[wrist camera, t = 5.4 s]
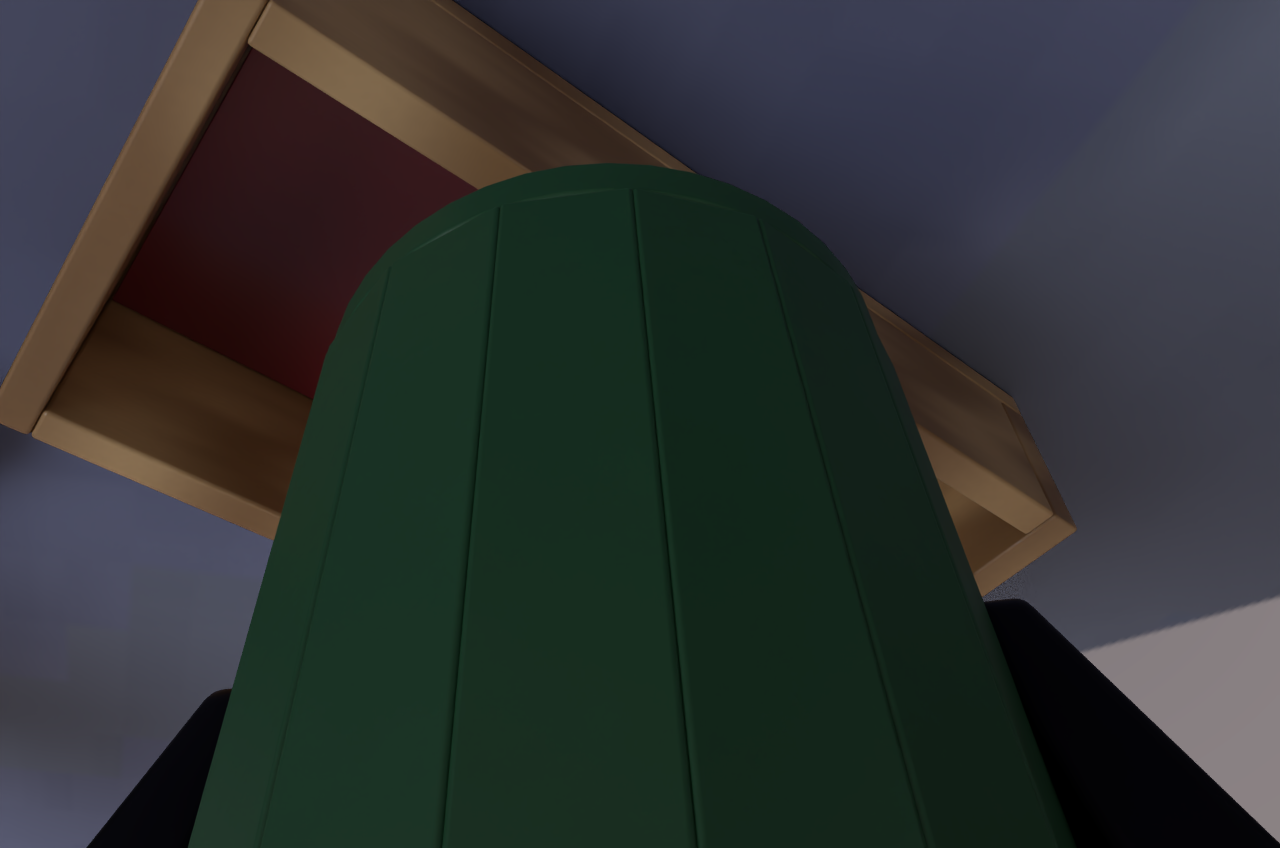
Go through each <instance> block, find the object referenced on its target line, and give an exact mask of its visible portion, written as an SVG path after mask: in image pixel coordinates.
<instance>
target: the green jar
mask: <svg viewBox="0 0 1280 848" xmlns="http://www.w3.org/2000/svg"><path fill="white" fill-rule="evenodd" d="M188 848H1077V846H1076V843H1075V840H1074V838H1073V835H1072V832H1071V830H1070V827H1069V825H1068V822H1067V819H1066V817H1065V814H1064V811H1063V809H1062V806H1061V804H1060V801H1059V798H1058V796H1057V793H1056V790H1055V788H1054V785H1053V783H1052V780H1051V777H1050V775H1049V772H1048V769H1047V767H1046V764H1045V762H1044V759H1043V756H1042V754H1041V751H1040V749H1039V746H1038V744H1037V742H1036V739H1035V737H1034V734H1033V731H1032V729H1031V726H1030V723H1029V721H1028V718H1027V716H1026V713H1025V710H1024V708H1023V705H1022V702H1021V699H1020V697H1019V694H1018V691H1017V689H1016V686H1015V683H1014V680H1013V678H1012V675H1011V672H1010V670H1009V667H1008V664H1007V662H1006V659H1005V657H1004V654H1003V651H1002V649H1001V646H1000V643H999V641H998V638H997V636H996V633H995V630H994V628H993V625H992V622H991V620H990V617H989V615H988V612H987V609H986V607H985V604H984V601H983V599H982V596H981V594H980V591H979V588H978V586H977V583H976V581H975V578H974V575H973V573H972V570H971V567H970V565H969V562H968V560H967V557H966V554H965V552H964V549H963V546H962V544H961V541H960V539H959V536H958V533H957V531H956V528H955V525H954V523H953V520H952V518H951V515H950V512H949V510H948V507H947V504H946V502H945V499H944V497H943V494H942V491H941V489H940V486H939V483H938V481H937V478H936V476H935V473H934V470H933V468H932V465H931V462H930V460H929V457H928V455H927V452H926V449H925V447H924V444H923V441H922V439H921V436H920V434H919V431H918V428H917V426H916V423H915V420H914V418H913V415H912V413H911V410H910V407H909V405H908V402H907V399H906V397H905V394H904V392H903V389H902V386H901V384H900V381H899V378H898V376H897V373H896V371H895V368H894V365H893V363H892V362H891V360H890V358H889V356H888V354H887V352H886V350H885V348H884V346H883V344H882V342H881V340H880V338H879V336H878V334H877V331H876V329H875V326H874V323H873V321H872V318H871V316H870V314H869V311H868V309H867V306H866V304H865V301H864V299H863V296H862V294H861V293H860V291H859V289H858V288H857V286H856V285H855V283H854V281H853V280H852V278H851V277H850V275H849V273H848V272H847V270H846V268H845V267H844V266H843V265H842V264H841V263H840V261H839V260H838V259H837V258H836V257H835V256H834V255H833V253H832V252H831V251H830V250H829V249H828V248H827V246H826V245H825V244H824V243H823V242H822V241H821V240H819V239H818V238H817V237H816V236H815V235H814V234H812V233H811V232H810V231H809V230H808V229H807V228H805V227H804V226H803V225H802V224H801V223H799V222H798V221H797V220H796V219H794V218H792V217H791V216H789V215H788V214H786V213H785V212H783V211H781V210H780V209H778V208H777V207H775V206H773V205H772V204H770V203H769V202H767V201H765V200H763V199H761V198H759V197H757V196H754V195H752V194H750V193H748V192H746V191H743V190H741V189H739V188H737V187H735V186H732V185H730V184H728V183H725V182H721V181H718V180H715V179H711V178H708V177H705V176H702V175H698V174H695V173H692V172H687V171H682V170H676V169H670V168H664V167H659V166H653V165H641V164H622V163H598V164H583V165H569V166H562V167H557V168H551V169H546V170H541V171H536V172H531V173H525V174H522V175H519V176H516V177H513V178H510V179H507V180H504V181H501V182H497V183H494V184H491V185H488V186H485V187H483V188H481V189H479V190H477V191H475V192H473V193H471V194H468V195H466V196H464V197H462V198H460V199H458V200H456V201H454V202H451V203H449V204H448V205H446V206H445V207H443V208H441V209H440V210H438V211H437V212H435V213H434V214H432V215H431V216H429V217H428V218H426V219H424V220H423V221H421V222H420V223H418V224H417V225H415V226H414V227H413V228H412V229H411V230H410V231H408V232H407V233H406V234H405V235H404V236H403V237H401V238H400V239H399V240H398V241H397V242H396V243H395V244H393V245H392V246H391V247H390V248H389V249H388V250H387V251H386V252H385V253H384V255H383V256H382V257H381V258H380V259H379V260H378V262H377V263H376V264H375V265H374V266H373V267H372V269H371V270H370V271H369V272H368V273H367V274H366V276H365V277H364V279H363V281H362V282H361V284H360V285H359V287H358V289H357V290H356V292H355V294H354V295H353V297H352V298H351V300H350V302H349V303H348V306H347V308H346V311H345V313H344V316H343V318H342V320H341V323H340V325H339V328H338V330H337V333H336V337H335V339H334V340H333V342H332V343H331V345H330V346H329V349H328V352H327V353H326V356H325V359H324V363H323V367H322V370H321V374H320V377H319V381H318V384H317V388H316V392H315V395H314V399H313V402H312V406H311V409H310V413H309V417H308V420H307V424H306V427H305V431H304V434H303V438H302V442H301V445H300V449H299V452H298V456H297V459H296V463H295V467H294V470H293V474H292V477H291V481H290V484H289V488H288V492H287V495H286V499H285V502H284V506H283V509H282V513H281V517H280V520H279V524H278V527H277V531H276V534H275V538H274V542H273V545H272V549H271V552H270V556H269V559H268V563H267V567H266V570H265V574H264V577H263V581H262V584H261V588H260V592H259V595H258V599H257V602H256V606H255V609H254V613H253V617H252V620H251V624H250V627H249V631H248V634H247V638H246V642H245V645H244V649H243V652H242V656H241V659H240V663H239V667H238V670H237V674H236V677H235V681H234V684H233V688H232V692H231V695H230V699H229V702H228V706H227V709H226V713H225V717H224V720H223V724H222V727H221V731H220V734H219V738H218V742H217V745H216V749H215V752H214V756H213V759H212V763H211V767H210V770H209V774H208V777H207V781H206V784H205V788H204V792H203V795H202V799H201V802H200V806H199V809H198V813H197V816H196V820H195V824H194V827H193V831H192V834H191V838H190V841H189V845H188Z"/></svg>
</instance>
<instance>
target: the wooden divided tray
mask: <svg viewBox="0 0 1280 848" xmlns="http://www.w3.org/2000/svg"><path fill="white" fill-rule="evenodd" d="M598 163H622V164H641V165H653V166H659V167H664V168H670V169H676V170H682V171H687V172H692V173H695V172H694V171H692V170H691V169H689V168H688V167H686V166H685V165H684V164H682V163H681V162H679V161H678V160H677V159H675V158H674V157H672V156H671V155H670V154H668V153H667V152H665V151H664V150H663V149H661V148H660V147H658V146H657V145H655V144H654V143H653V142H651V141H650V140H648V139H647V138H646V137H644V136H643V135H641V134H640V133H639V132H637V131H636V130H634V129H633V128H631V127H630V126H629V125H627V124H626V123H624V122H623V121H622V120H620V119H619V118H617V117H616V116H615V115H613V114H612V113H610V112H609V111H608V110H606V109H605V108H603V107H602V106H600V105H599V104H598V103H596V102H595V101H593V100H592V99H591V98H589V97H588V96H586V95H585V94H584V93H582V92H581V91H579V90H578V89H576V88H575V87H574V86H572V85H571V84H569V83H568V82H567V81H565V80H564V79H562V78H561V77H560V76H558V75H557V74H555V73H554V72H553V71H551V70H550V69H548V68H547V67H545V66H544V65H543V64H541V63H540V62H538V61H537V60H536V59H534V58H533V57H531V56H530V55H529V54H527V53H526V52H524V51H523V50H521V49H520V48H519V47H517V46H516V45H514V44H513V43H512V42H510V41H509V40H507V39H506V38H505V37H503V36H502V35H500V34H499V33H498V32H496V31H495V30H493V29H492V28H490V27H489V26H488V25H486V24H485V23H483V22H482V21H481V20H479V19H478V18H476V17H475V16H474V15H472V14H471V13H469V12H468V11H466V10H465V9H464V8H462V7H461V6H459V5H458V4H457V3H455V2H454V1H452V0H198V2H197V3H196V5H195V7H194V9H193V11H192V13H191V15H190V17H189V19H188V21H187V23H186V25H185V27H184V29H183V31H182V33H181V35H180V37H179V39H178V41H177V43H176V45H175V47H174V49H173V50H172V52H171V54H170V56H169V58H168V60H167V62H166V64H165V66H164V68H163V70H162V72H161V74H160V76H159V78H158V80H157V82H156V84H155V86H154V88H153V90H152V92H151V94H150V95H149V97H148V99H147V101H146V103H145V105H144V107H143V109H142V111H141V113H140V115H139V117H138V119H137V121H136V123H135V125H134V127H133V129H132V131H131V133H130V135H129V137H128V139H127V140H126V142H125V144H124V146H123V148H122V150H121V152H120V154H119V156H118V158H117V160H116V162H115V164H114V166H113V168H112V170H111V172H110V174H109V176H108V178H107V180H106V182H105V184H104V186H103V187H102V189H101V191H100V193H99V195H98V197H97V199H96V201H95V203H94V205H93V207H92V209H91V211H90V213H89V215H88V217H87V219H86V221H85V223H84V225H83V227H82V229H81V231H80V232H79V234H78V236H77V238H76V240H75V242H74V244H73V246H72V248H71V250H70V252H69V254H68V256H67V258H66V260H65V262H64V264H63V266H62V268H61V270H60V272H59V274H58V276H57V277H56V279H55V281H54V283H53V285H52V287H51V289H50V291H49V293H48V295H47V297H46V299H45V301H44V303H43V305H42V307H41V309H40V311H39V313H38V315H37V317H36V319H35V321H34V323H33V324H32V326H31V328H30V330H29V332H28V334H27V336H26V338H25V340H24V342H23V344H22V346H21V348H20V350H19V352H18V354H17V356H16V358H15V360H14V362H13V364H12V366H11V368H10V369H9V371H8V373H7V375H6V377H5V379H4V381H3V383H2V385H1V387H0V424H2V425H5V426H7V427H9V428H12V429H14V430H16V431H19V432H21V433H23V434H29V433H30V432H32V437H34V438H35V439H37V440H40V441H42V442H44V443H47V444H49V445H51V446H54V447H56V448H58V449H61V450H63V451H65V452H68V453H70V454H72V455H75V456H77V457H79V458H82V459H84V460H86V461H89V462H91V463H93V464H96V465H98V466H100V467H103V468H105V469H107V470H110V471H112V472H114V473H117V474H119V475H121V476H124V477H126V478H128V479H131V480H133V481H135V482H138V483H140V484H142V485H145V486H147V487H149V488H152V489H154V490H156V491H159V492H161V493H163V494H166V495H168V496H170V497H173V498H175V499H177V500H180V501H182V502H184V503H187V504H189V505H191V506H194V507H196V508H198V509H201V510H203V511H205V512H208V513H210V514H212V515H215V516H217V517H219V518H222V519H224V520H226V521H229V522H231V523H233V524H236V525H238V526H240V527H243V528H245V529H247V530H250V531H252V532H254V533H257V534H259V535H261V536H264V537H266V538H268V539H271V540H273V541H274V538H275V534H276V531H277V527H278V524H279V520H280V517H281V513H282V509H283V506H284V502H285V499H286V495H287V492H288V488H289V484H290V481H291V477H292V474H293V470H294V467H295V463H296V459H297V456H298V452H299V449H300V445H301V442H302V438H303V434H304V431H305V427H306V424H307V420H308V417H309V413H310V409H311V406H312V402H313V399H314V395H315V392H316V388H317V384H318V381H319V377H320V374H321V370H322V367H323V363H324V359H325V356H326V353H327V352H328V349H329V346H330V345H331V343H332V342H333V340H334V339H335V337H336V333H337V330H338V328H339V325H340V323H341V320H342V318H343V316H344V313H345V311H346V308H347V306H348V303H349V302H350V300H351V298H352V297H353V295H354V294H355V292H356V290H357V289H358V287H359V285H360V284H361V282H362V281H363V279H364V277H365V276H366V274H367V273H368V272H369V271H370V270H371V269H372V267H373V266H374V265H375V264H376V263H377V262H378V260H379V259H380V258H381V257H382V256H383V255H384V253H385V252H386V251H387V250H388V249H389V248H390V247H391V246H392V245H393V244H395V243H396V242H397V241H398V240H399V239H400V238H401V237H403V236H404V235H405V234H406V233H407V232H408V231H410V230H411V229H412V228H413V227H414V226H415V225H417V224H418V223H420V222H421V221H423V220H424V219H426V218H428V217H429V216H431V215H432V214H434V213H435V212H437V211H438V210H440V209H441V208H443V207H445V206H446V205H448V204H449V203H451V202H454V201H456V200H458V199H460V198H462V197H464V196H466V195H468V194H471V193H473V192H475V191H477V190H479V189H481V188H483V187H485V186H488V185H491V184H494V183H497V182H501V181H504V180H507V179H510V178H513V177H516V176H519V175H522V174H525V173H531V172H536V171H541V170H546V169H551V168H557V167H562V166H569V165H583V164H598ZM695 174H696V173H695ZM858 289H859V288H858ZM859 291H860V293H861V294H862V296H863V299H864V301H865V304H866V306H867V309H868V311H869V314H870V316H871V318H872V321H873V323H874V326H875V329H876V331H877V334H878V336H879V338H880V340H881V342H882V344H883V346H884V348H885V350H886V352H887V354H888V356H889V358H890V360H891V362H892V363H893V365H894V368H895V371H896V373H897V376H898V378H899V381H900V384H901V386H902V389H903V392H904V394H905V397H906V399H907V402H908V405H909V407H910V410H911V413H912V415H913V418H914V420H915V423H916V426H917V428H918V431H919V434H920V436H921V439H922V441H923V444H924V447H925V449H926V452H927V455H928V457H929V460H930V462H931V465H932V468H933V470H934V473H935V476H936V478H937V481H938V483H939V486H940V489H941V491H942V494H943V497H944V499H945V502H946V504H947V507H948V510H949V512H950V515H951V518H952V520H953V523H954V525H955V528H956V531H957V533H958V536H959V539H960V541H961V544H962V546H963V549H964V552H965V554H966V557H967V560H968V562H969V565H970V567H971V570H972V573H973V575H974V578H975V581H976V583H977V586H978V588H979V591H980V594H981V596H982V597H983V596H985V595H986V594H987V593H989V592H990V591H992V590H993V589H995V588H996V587H997V586H999V585H1000V584H1002V583H1003V582H1004V581H1006V580H1007V579H1009V578H1010V577H1012V576H1013V575H1014V574H1016V573H1017V572H1019V571H1020V570H1021V569H1023V568H1024V567H1026V566H1027V565H1029V564H1030V563H1031V562H1033V561H1034V560H1036V559H1037V558H1039V557H1040V556H1041V555H1043V554H1044V553H1046V552H1047V551H1048V550H1050V549H1051V548H1053V547H1054V546H1056V545H1057V544H1058V543H1060V542H1061V541H1063V540H1064V539H1065V538H1067V537H1068V536H1070V535H1071V534H1073V533H1074V532H1075V531H1076V530H1077V528H1076V525H1075V523H1074V521H1073V519H1072V517H1071V515H1070V513H1069V511H1068V509H1067V507H1066V505H1065V503H1064V501H1063V499H1062V497H1061V495H1060V493H1059V491H1058V489H1057V487H1056V485H1055V483H1054V481H1053V479H1052V477H1051V474H1050V472H1049V470H1048V468H1047V466H1046V464H1045V462H1044V460H1043V458H1042V456H1041V454H1040V452H1039V450H1038V448H1037V446H1036V444H1035V442H1034V440H1033V438H1032V436H1031V434H1030V432H1029V430H1028V428H1027V426H1026V423H1025V421H1024V419H1023V417H1022V416H1021V413H1020V411H1019V409H1018V407H1017V405H1016V403H1015V401H1014V399H1013V398H1012V397H1011V396H1009V395H1008V394H1007V393H1005V392H1004V391H1002V390H1001V389H1000V388H998V387H997V386H995V385H994V384H992V383H991V382H990V381H988V380H987V379H985V378H984V377H983V376H981V375H980V374H978V373H977V372H976V371H974V370H973V369H971V368H970V367H969V366H967V365H966V364H964V363H963V362H961V361H960V360H959V359H957V358H956V357H954V356H953V355H952V354H950V353H949V352H947V351H946V350H945V349H943V348H942V347H940V346H939V345H937V344H936V343H935V342H933V341H932V340H930V339H929V338H928V337H926V336H925V335H923V334H922V333H921V332H919V331H918V330H916V329H915V328H914V327H912V326H911V325H909V324H908V323H906V322H905V321H904V320H902V319H901V318H899V317H898V316H897V315H895V314H894V313H892V312H891V311H890V310H888V309H887V308H885V307H884V306H882V305H881V304H880V303H878V302H877V301H875V300H874V299H873V298H871V297H870V296H868V295H867V294H866V293H864V292H863V291H861V290H860V289H859Z"/></svg>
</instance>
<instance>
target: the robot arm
mask: <svg viewBox="0 0 1280 848" xmlns="http://www.w3.org/2000/svg"><path fill="white" fill-rule="evenodd" d="M984 604H985V607H986V609H987V612H988V615H989V617H990V620H991V622H992V625H993V628H994V630H995V633H996V636H997V638H998V641H999V643H1000V646H1001V649H1002V651H1003V654H1004V657H1005V659H1006V662H1007V664H1008V667H1009V670H1010V672H1011V675H1012V678H1013V680H1014V683H1015V686H1016V689H1017V691H1018V694H1019V697H1020V699H1021V702H1022V705H1023V708H1024V710H1025V713H1026V716H1027V718H1028V721H1029V723H1030V726H1031V729H1032V731H1033V734H1034V737H1035V739H1036V742H1037V744H1038V746H1039V749H1040V751H1041V754H1042V756H1043V759H1044V762H1045V764H1046V767H1047V769H1048V772H1049V775H1050V777H1051V780H1052V783H1053V785H1054V788H1055V790H1056V793H1057V796H1058V798H1059V801H1060V804H1061V806H1062V809H1063V811H1064V814H1065V817H1066V819H1067V822H1068V825H1069V827H1070V830H1071V832H1072V835H1073V838H1074V840H1075V843H1076V846H1077V848H1280V843H1279V842H1278V841H1277V840H1276V839H1275V838H1273V837H1272V836H1271V835H1270V834H1269V833H1268V832H1267V831H1266V830H1265V829H1264V828H1263V827H1262V826H1261V825H1260V824H1259V823H1258V822H1257V821H1256V820H1255V819H1254V818H1253V817H1251V816H1250V815H1249V814H1248V813H1247V812H1246V811H1245V810H1244V809H1243V808H1242V807H1241V806H1240V805H1239V804H1238V803H1237V802H1236V801H1235V800H1234V799H1233V798H1232V797H1231V796H1230V795H1229V794H1228V793H1227V792H1225V791H1224V790H1223V789H1222V788H1221V787H1220V786H1219V785H1218V784H1217V783H1216V782H1215V781H1214V780H1213V779H1212V778H1211V777H1210V776H1209V775H1208V774H1207V773H1206V772H1205V771H1204V770H1203V769H1201V768H1200V767H1199V766H1198V765H1197V764H1196V763H1195V762H1194V761H1193V760H1192V759H1191V758H1190V757H1189V756H1188V755H1187V754H1186V753H1185V752H1184V751H1183V750H1182V749H1181V748H1180V747H1179V746H1177V745H1176V744H1175V743H1174V742H1173V741H1172V740H1171V739H1170V738H1169V737H1168V736H1167V735H1166V734H1165V733H1164V732H1163V731H1162V730H1161V729H1160V728H1159V727H1158V726H1156V724H1155V723H1154V722H1152V721H1151V720H1150V719H1149V718H1148V717H1147V716H1146V715H1145V714H1144V713H1143V712H1142V711H1141V710H1140V709H1139V708H1138V707H1137V706H1136V705H1135V704H1134V703H1133V702H1132V701H1131V700H1130V699H1128V698H1127V697H1126V696H1125V695H1124V694H1123V693H1122V692H1121V691H1120V690H1119V689H1118V688H1117V687H1116V686H1115V685H1114V684H1113V683H1112V682H1110V680H1109V679H1108V678H1106V676H1104V675H1103V674H1102V673H1101V672H1100V671H1099V670H1098V669H1097V668H1096V667H1095V666H1094V665H1093V664H1092V663H1091V662H1090V661H1089V660H1088V659H1087V658H1086V657H1085V656H1084V655H1083V654H1082V653H1080V652H1079V651H1078V650H1077V649H1076V648H1075V647H1074V646H1073V645H1072V644H1071V643H1070V642H1069V641H1068V640H1067V639H1066V638H1065V637H1064V636H1063V635H1062V634H1061V633H1060V632H1059V631H1058V630H1056V629H1055V628H1054V627H1053V626H1052V625H1051V624H1050V623H1049V622H1048V621H1047V620H1046V619H1045V618H1044V617H1043V616H1042V615H1041V614H1040V613H1039V612H1038V611H1037V610H1036V609H1035V608H1034V607H1032V606H1031V605H1030V604H1029V603H1027V602H1026V601H1024V600H1021V599H1005V600H996V601H988V602H984ZM231 692H232V689H224V690H220V691H216V692H214V693H213V694H211V695H210V696H209V697H207V698H206V699H205V700H204V702H203V703H202V704H201V705H200V706H199V708H198V709H197V710H196V711H195V713H194V714H193V715H192V716H191V718H190V719H189V720H188V721H187V723H186V724H185V725H184V726H183V728H182V729H181V730H180V731H179V733H178V734H177V735H176V736H175V738H174V739H173V740H172V741H171V743H170V744H169V745H168V746H167V748H166V749H165V750H164V751H163V753H162V754H161V755H160V756H159V758H158V759H157V760H156V761H155V763H154V764H153V765H152V766H151V768H150V769H149V770H148V771H147V773H146V774H145V775H144V776H143V778H142V779H141V780H140V781H139V783H138V784H137V785H136V786H135V788H134V789H133V790H132V791H131V793H130V794H129V795H128V796H127V798H126V799H125V800H124V801H123V803H122V804H121V805H120V806H119V808H118V809H117V810H116V811H115V813H114V814H113V815H112V816H111V818H110V819H109V820H108V821H107V823H106V824H105V825H104V826H103V828H102V829H101V830H100V831H99V833H98V834H97V835H96V836H95V838H94V839H93V840H92V841H91V843H90V844H89V845H88V846H87V848H188V845H189V841H190V838H191V834H192V831H193V827H194V824H195V820H196V816H197V813H198V809H199V806H200V802H201V799H202V795H203V792H204V788H205V784H206V781H207V777H208V774H209V770H210V767H211V763H212V759H213V756H214V752H215V749H216V745H217V742H218V738H219V734H220V731H221V727H222V724H223V720H224V717H225V713H226V709H227V706H228V702H229V699H230V695H231Z"/></svg>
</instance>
